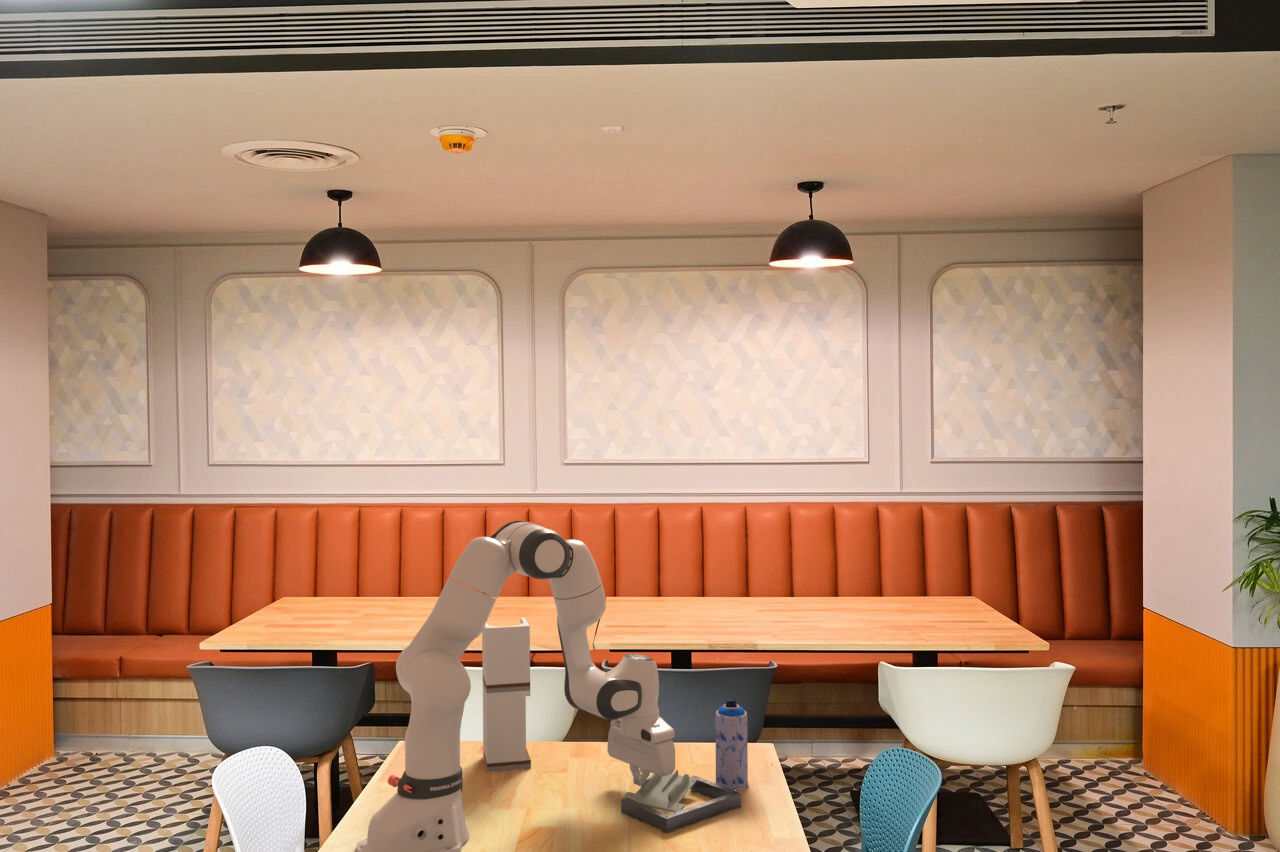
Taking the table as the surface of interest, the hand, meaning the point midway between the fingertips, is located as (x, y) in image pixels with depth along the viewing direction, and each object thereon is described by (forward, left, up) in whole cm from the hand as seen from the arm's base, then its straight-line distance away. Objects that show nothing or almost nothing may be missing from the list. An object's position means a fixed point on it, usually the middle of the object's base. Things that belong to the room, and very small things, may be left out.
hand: (640, 785), depth 240 cm
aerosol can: (+19, -11, -2) cm, 22 cm away
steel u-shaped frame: (0, -14, -2) cm, 14 cm away
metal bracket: (+2, -6, -2) cm, 7 cm away
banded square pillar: (-12, +37, -2) cm, 39 cm away
